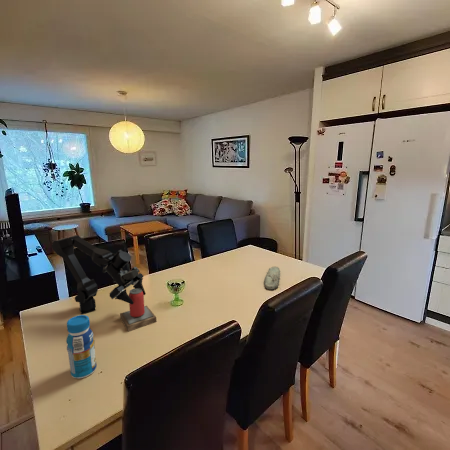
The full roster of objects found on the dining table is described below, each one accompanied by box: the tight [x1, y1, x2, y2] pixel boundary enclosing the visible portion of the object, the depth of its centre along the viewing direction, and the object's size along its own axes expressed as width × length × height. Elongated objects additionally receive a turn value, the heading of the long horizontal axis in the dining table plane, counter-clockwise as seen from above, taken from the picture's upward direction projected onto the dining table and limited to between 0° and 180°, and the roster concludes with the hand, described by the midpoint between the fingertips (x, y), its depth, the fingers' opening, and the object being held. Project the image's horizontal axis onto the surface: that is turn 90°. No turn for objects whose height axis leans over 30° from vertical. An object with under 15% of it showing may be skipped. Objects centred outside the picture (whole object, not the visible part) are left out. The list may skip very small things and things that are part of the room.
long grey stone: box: [264, 266, 281, 290], centre depth 173 cm, size 35×5×10 cm
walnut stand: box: [119, 305, 157, 332], centre depth 126 cm, size 13×13×3 cm
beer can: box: [128, 288, 145, 317], centre depth 124 cm, size 7×7×12 cm
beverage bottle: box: [65, 314, 97, 379], centre depth 92 cm, size 8×8×20 cm
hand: (139, 299), depth 123 cm, fingers open, 9 cm apart
